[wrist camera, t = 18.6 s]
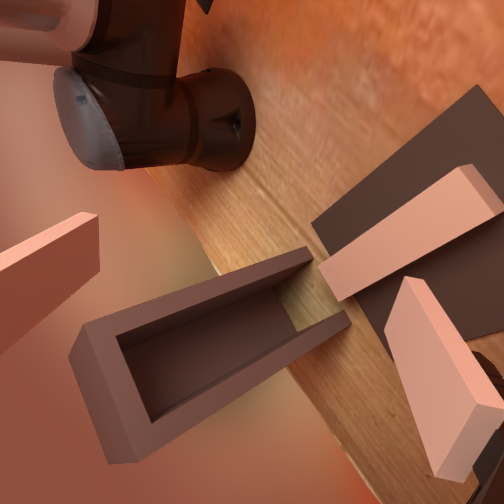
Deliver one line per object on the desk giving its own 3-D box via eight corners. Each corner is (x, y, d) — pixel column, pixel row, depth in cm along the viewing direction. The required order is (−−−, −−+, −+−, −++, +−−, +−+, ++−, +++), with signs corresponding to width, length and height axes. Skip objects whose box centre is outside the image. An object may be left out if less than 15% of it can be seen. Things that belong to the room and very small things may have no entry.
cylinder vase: (115, 6, 72) (-39, -27, 56) (144, -7, 64) (-27, -49, 48) (122, 74, 77) (-19, 62, 61) (150, 71, 68) (-5, 55, 52)
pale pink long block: (333, 259, 46) (317, 266, 44) (472, 163, 32) (457, 166, 30) (354, 293, 45) (338, 302, 43) (507, 209, 31) (495, 215, 29)
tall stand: (262, 280, 58) (67, 357, 39) (306, 245, 49) (83, 323, 30) (297, 346, 56) (108, 464, 36) (351, 323, 47) (138, 462, 28)
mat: (312, 222, 48) (310, 223, 47) (478, 84, 31) (476, 84, 30) (394, 360, 43) (393, 361, 43) (641, 288, 26) (641, 290, 26)
